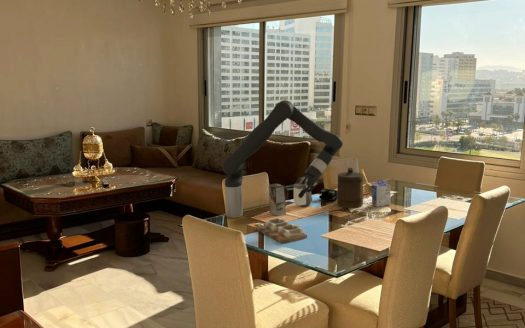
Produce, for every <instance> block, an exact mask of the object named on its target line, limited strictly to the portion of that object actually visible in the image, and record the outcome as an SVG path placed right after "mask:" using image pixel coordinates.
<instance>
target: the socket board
mask: <svg viewBox="0 0 525 328" xmlns="http://www.w3.org/2000/svg"><path fill="white" fill-rule="evenodd" d="M264 223H265V224H264V225H261V226H256V228H255V230H256V231H258V232H260V233H261V234H263V235H265V236H267V237H269V238H271V239H273V240H275V241H276V242H278V243H280V244H286V243H291V242H296V241H299V240H303V239H307V238H308V235H307V234H306V233H304V232H303V227H301V226H299V225H296V224H294V223H290V224H289V221H287V220H285V219H283V218H281V217H277V218H272V219H267V220H265V221H264Z"/></svg>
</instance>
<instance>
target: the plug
mask: <svg viewBox="0 0 525 328" xmlns="http://www.w3.org/2000/svg"><path fill="white" fill-rule="evenodd" d="M303 188H304V184H302V183H301V184H300V183H299V184H296V183H294V184H293V192H294V195H293V204H294V205H295V206H299V207H301V206H300V205H305V204H306V193H305V194H304V196H303V197H302V198H300V197H298V195H299V193H300V192H301V191H302V190H303Z"/></svg>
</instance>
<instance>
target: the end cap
mask: <svg viewBox="0 0 525 328" xmlns="http://www.w3.org/2000/svg"><path fill="white" fill-rule="evenodd" d="M318 193H319V194H320V195H319V197H318V198H319V201H320V202H327V203H335V202H337V189H332V188H331V189H330V188H321V190H319V192H318Z"/></svg>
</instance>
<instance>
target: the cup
mask: <svg viewBox="0 0 525 328" xmlns="http://www.w3.org/2000/svg"><path fill="white" fill-rule="evenodd" d="M312 201H313V195H312V190H311V191H310V192H307V193H306V204H305V205H300V206H299V207H302V208H303V207H305V208H306V207H308V206H310V205H311V203H312Z"/></svg>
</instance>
